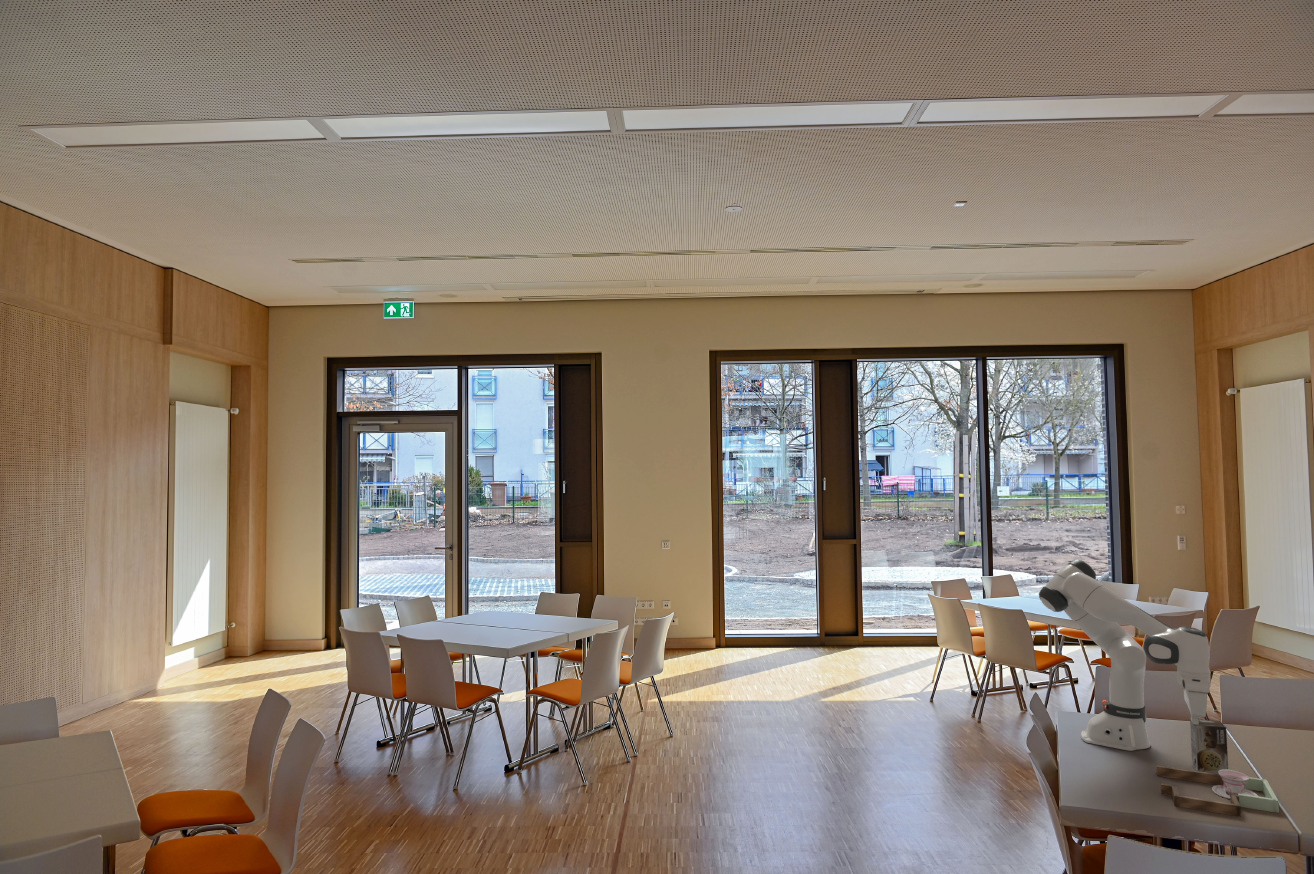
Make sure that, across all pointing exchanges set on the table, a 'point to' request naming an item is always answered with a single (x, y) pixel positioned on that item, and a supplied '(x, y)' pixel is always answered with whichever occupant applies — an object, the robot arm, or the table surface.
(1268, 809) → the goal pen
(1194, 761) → the coffee box
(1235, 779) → the teacup
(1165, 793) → the channel
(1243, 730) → the table surface
